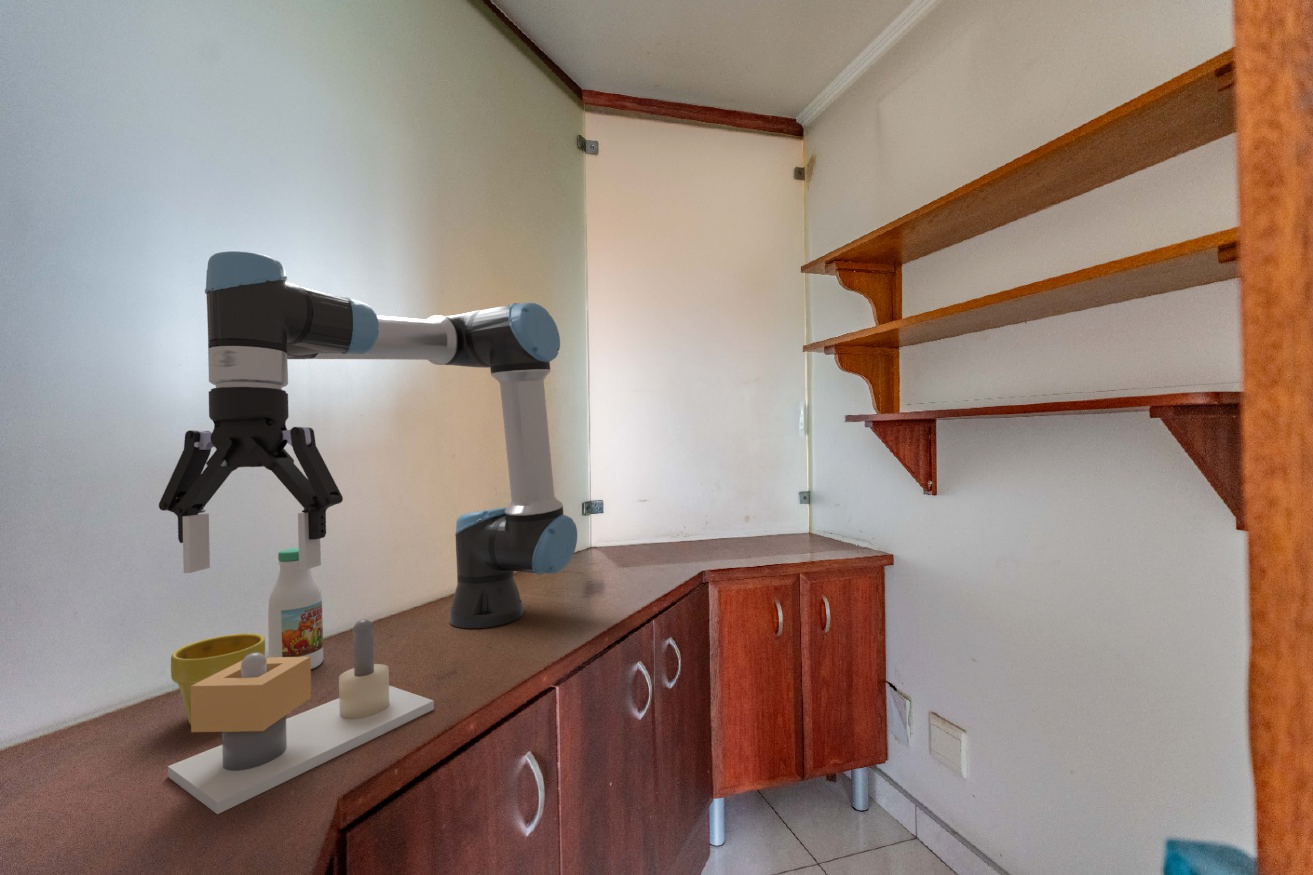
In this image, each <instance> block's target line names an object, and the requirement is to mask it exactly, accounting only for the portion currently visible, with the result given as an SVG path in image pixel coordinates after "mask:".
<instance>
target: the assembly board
mask: <svg viewBox="0 0 1313 875" xmlns="http://www.w3.org/2000/svg"><path fill="white" fill-rule="evenodd" d="M352 632H353V633H352V634H353V635H352V637H353V639H352V640H353V668H349V669H347V670H345V671H344V672H343V673H341V674H339V676H338V695H339V696H338V698H336V699H332V700H331V701H328V702H325V703H322V704H321V705H318V706H316V707H313V708H310V709H309V710H305V711H302V712H300V713H298V714H296V715H292V716H291V717H288V718H287V715H285V716H284V717H282V718H281V719H280V720H278V721H277V722H275V723H274V724H272V725H271V726H269V727H268V728H267V729H265V730H264V731H238V732H221V740H222V741H221V744H220V745H218V746H215V747H213V748H210V749H207V750H205V751H203V752H199V753H197V754H195V755H192V756H191V757H187V758H185V759H182V760H180V761H177V762H175V763H172V764H170V765H168V766H167V778H168V779H170V780H172V782H174V783H175V784H177V785H178V786H179V787H180V788H182V789H183V790H184V791H186V792H187V793H189V794H190V795H191V796H192V797H194V798H195V799H197V801H199V802H201V804H203V805H205V806H206V807H207V808H208V809H209V810H211V811H212V812H214V813H215V814H217V815H220V814H221V813H223V812H225V811H228V810H230V809H231V808H234V807H235V806H239V805H240V804H242V803H244V802H246V801H249V800H250V799H252V798H254V797H256V796H258V795H261V794H262V793H265V792H267V791H269V790H270V789H273V788H275V787H277V786H279V785H281V784H283V783H285V782H287V781H290V780H291V779H294V778H296V777H298V776H299V775H302V774H304V773H306V772H307V771H310V770H312V769H314V768H315V767H316V768H317V767H319V766H320V765H322V764H325V763H326V762H328V761H330V760H332V759H335V758H336V757H339V756H341V755H342V754H345V753H347V752H348V751H351V750H352V749H355V748H357V747H359V746H362V745H363V744H366V743H368V742H369V741H372V740H374V739H376V738H379V736H382V735H384V734H386V733H388V732H390V731H392V730H395V729H396V728H398V727H401V726H403V725H404V724H407V723H408V722H411V721H413V720H415V719H417V718H419V717H421V716H423V715H425V714H427V713H430V712H431V711H433V710H435V709H434V708H435V701H434V700H433V699H431V698H427V697H424V696H421V695H419V694H415V693H412V692H409V691H406V690H403V689H401V688H397V687H396V686H393V685H390V671H389V669H390V668H389V666H388V665H386V664H382V663H375V657H374V656H375V655H374V654H375V651H374V649H375V648H374V646H375V645H374V624H373V622H372V621H371V620H370V619H365V618H364V619H360V620H358V621H356V623H355V624H354V626H353V627H352ZM266 658H267V657H266V655H265V656H264V655H263V654H261V653H251V654H249V655H247V656H246V657H245V658H244V659H243V661H242V663H241V678H254V677H260V676H261V675H263V674H265V673H267V661H266Z"/></svg>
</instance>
